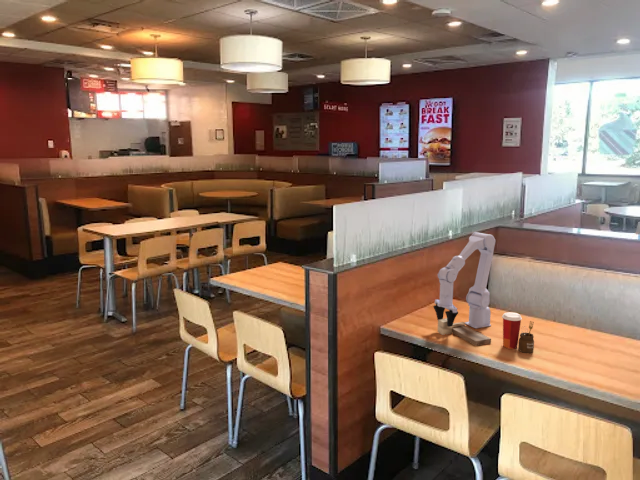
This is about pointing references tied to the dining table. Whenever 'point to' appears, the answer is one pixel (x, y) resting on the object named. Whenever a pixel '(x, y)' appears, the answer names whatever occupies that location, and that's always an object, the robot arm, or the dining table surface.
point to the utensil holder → (526, 341)
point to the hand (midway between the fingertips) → (444, 323)
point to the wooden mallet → (446, 326)
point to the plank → (470, 335)
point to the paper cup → (511, 329)
